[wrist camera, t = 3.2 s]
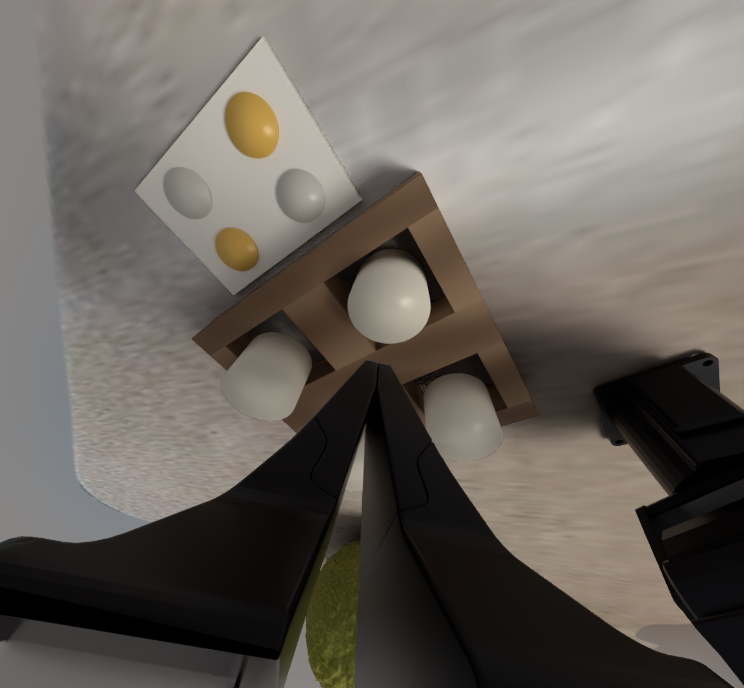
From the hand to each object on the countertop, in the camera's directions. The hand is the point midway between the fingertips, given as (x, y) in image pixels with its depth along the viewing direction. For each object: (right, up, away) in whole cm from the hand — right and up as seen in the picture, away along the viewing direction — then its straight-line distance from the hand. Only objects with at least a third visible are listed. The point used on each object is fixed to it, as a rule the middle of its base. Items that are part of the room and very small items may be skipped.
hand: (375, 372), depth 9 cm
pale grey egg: (+5, -2, +8) cm, 10 cm away
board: (0, 0, +10) cm, 10 cm away
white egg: (+1, +4, +7) cm, 8 cm away
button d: (-6, 0, +8) cm, 10 cm away
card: (-7, +9, +5) cm, 12 cm away
